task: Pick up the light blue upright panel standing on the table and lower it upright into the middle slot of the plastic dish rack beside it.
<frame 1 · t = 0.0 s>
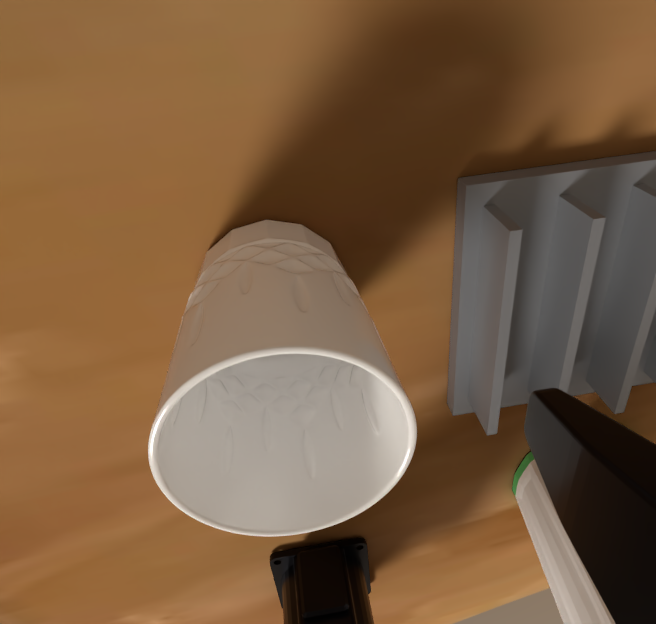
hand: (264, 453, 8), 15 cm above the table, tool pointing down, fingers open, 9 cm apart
cup: (572, 466, 34), on the table
white cup: (272, 285, 24), on the table
rack: (568, 288, 26), on the table
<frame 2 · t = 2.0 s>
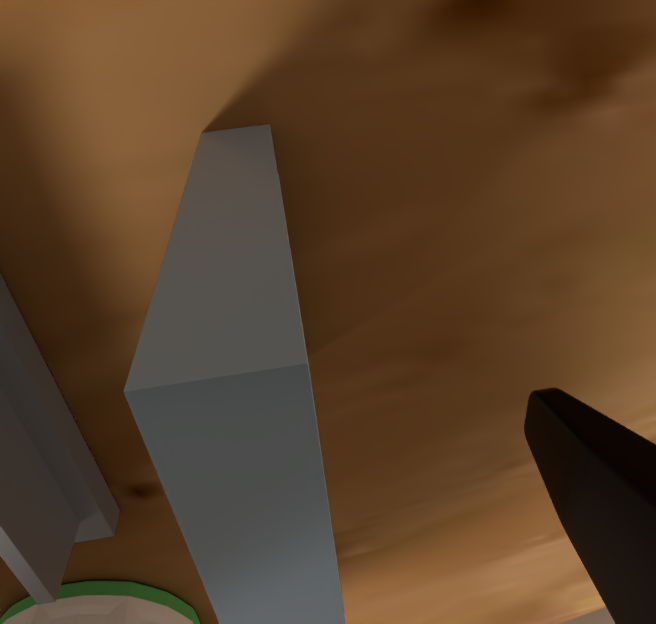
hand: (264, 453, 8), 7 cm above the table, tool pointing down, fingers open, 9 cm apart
light blue upright panel: (260, 261, 14), on the table
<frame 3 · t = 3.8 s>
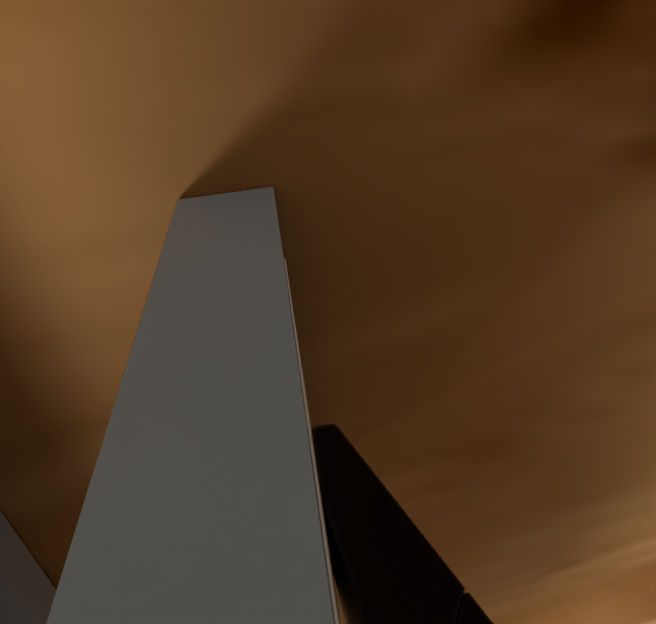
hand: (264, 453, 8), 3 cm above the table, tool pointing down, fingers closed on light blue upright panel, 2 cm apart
light blue upright panel: (260, 357, 11), on the table, touching gripper
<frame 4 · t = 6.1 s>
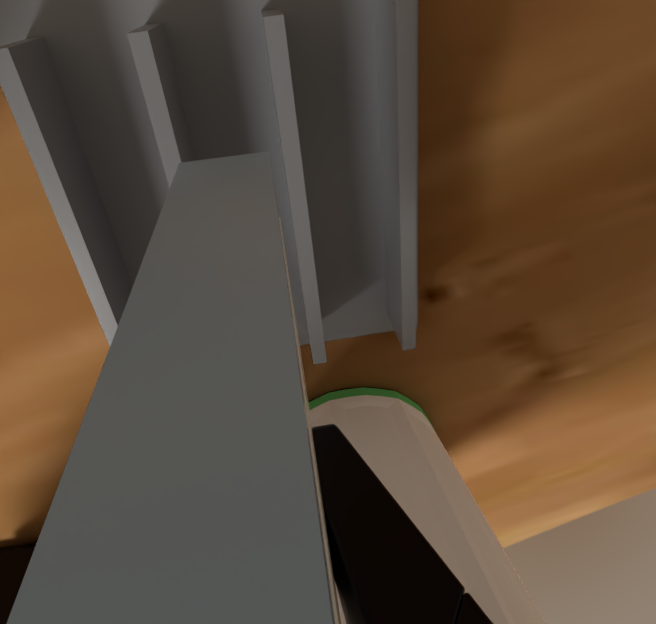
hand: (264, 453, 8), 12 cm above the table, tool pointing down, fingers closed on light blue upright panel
cup: (351, 444, 27), on the table
light blue upright panel: (257, 319, 11), point 9 cm above the table, touching gripper
rack: (247, 190, 19), on the table
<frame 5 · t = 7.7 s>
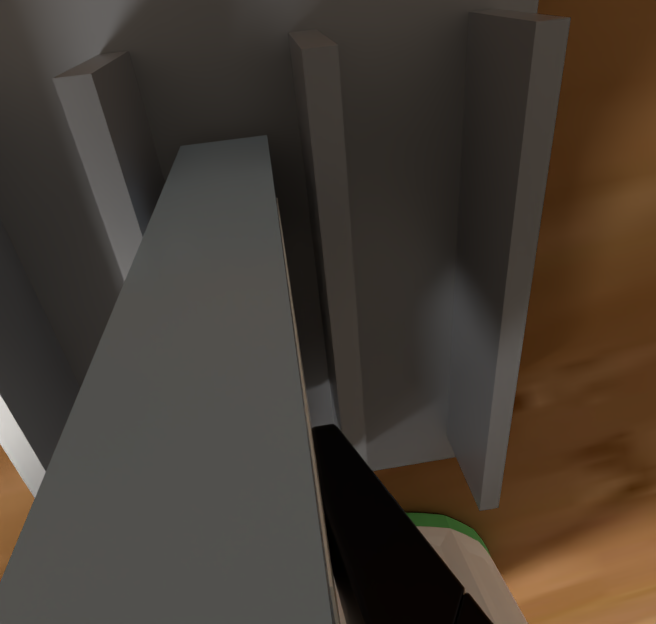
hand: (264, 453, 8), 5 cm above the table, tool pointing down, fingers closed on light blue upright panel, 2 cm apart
cup: (384, 571, 21), on the table
light blue upright panel: (255, 300, 11), point 1 cm above the table, touching gripper
rack: (259, 283, 13), on the table
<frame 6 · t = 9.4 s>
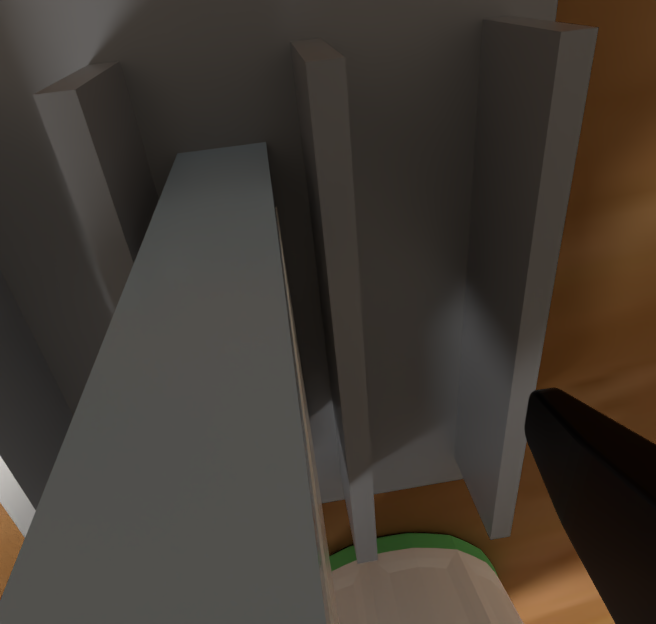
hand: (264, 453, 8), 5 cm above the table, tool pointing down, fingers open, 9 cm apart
cup: (388, 592, 21), on the table
light blue upright panel: (254, 309, 11), point 1 cm above the table, touching rack
rack: (259, 302, 12), on the table
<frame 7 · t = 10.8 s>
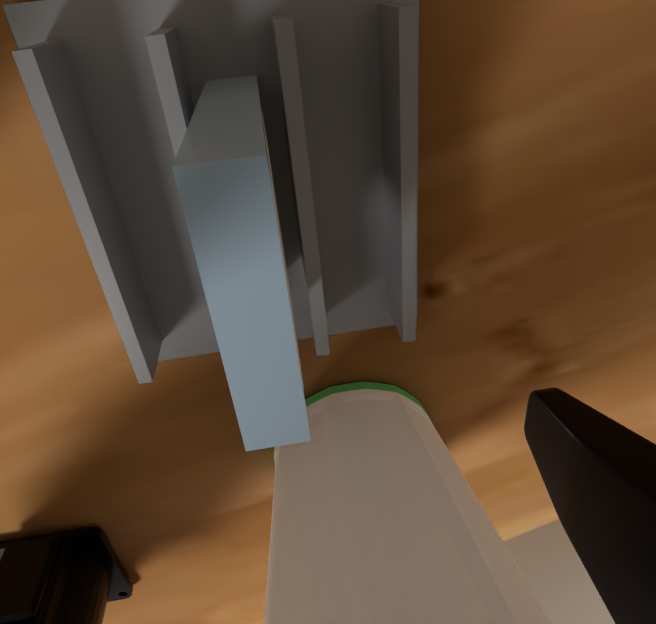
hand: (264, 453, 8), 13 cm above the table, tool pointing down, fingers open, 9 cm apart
cup: (352, 438, 27), on the table
light blue upright panel: (250, 185, 18), point 1 cm above the table, touching rack
rack: (253, 187, 19), on the table
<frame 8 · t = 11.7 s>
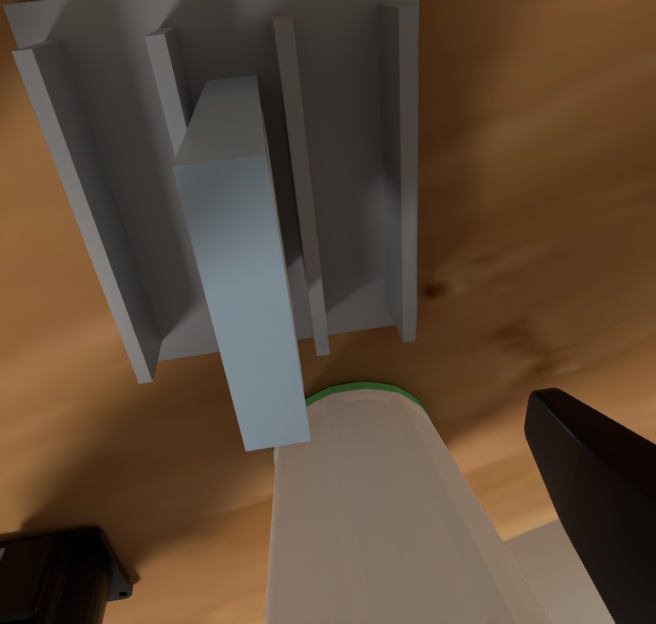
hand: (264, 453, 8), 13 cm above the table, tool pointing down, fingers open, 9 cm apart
cup: (352, 438, 27), on the table
light blue upright panel: (250, 185, 18), point 1 cm above the table, touching rack
rack: (253, 187, 19), on the table
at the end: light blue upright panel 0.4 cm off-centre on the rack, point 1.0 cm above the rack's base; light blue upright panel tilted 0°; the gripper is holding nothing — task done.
